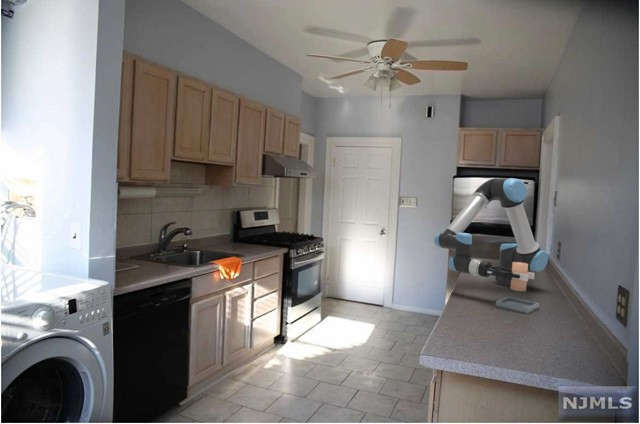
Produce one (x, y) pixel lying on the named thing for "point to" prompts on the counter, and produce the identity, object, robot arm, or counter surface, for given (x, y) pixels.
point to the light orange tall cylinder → (515, 283)
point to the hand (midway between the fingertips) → (531, 277)
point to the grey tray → (517, 305)
